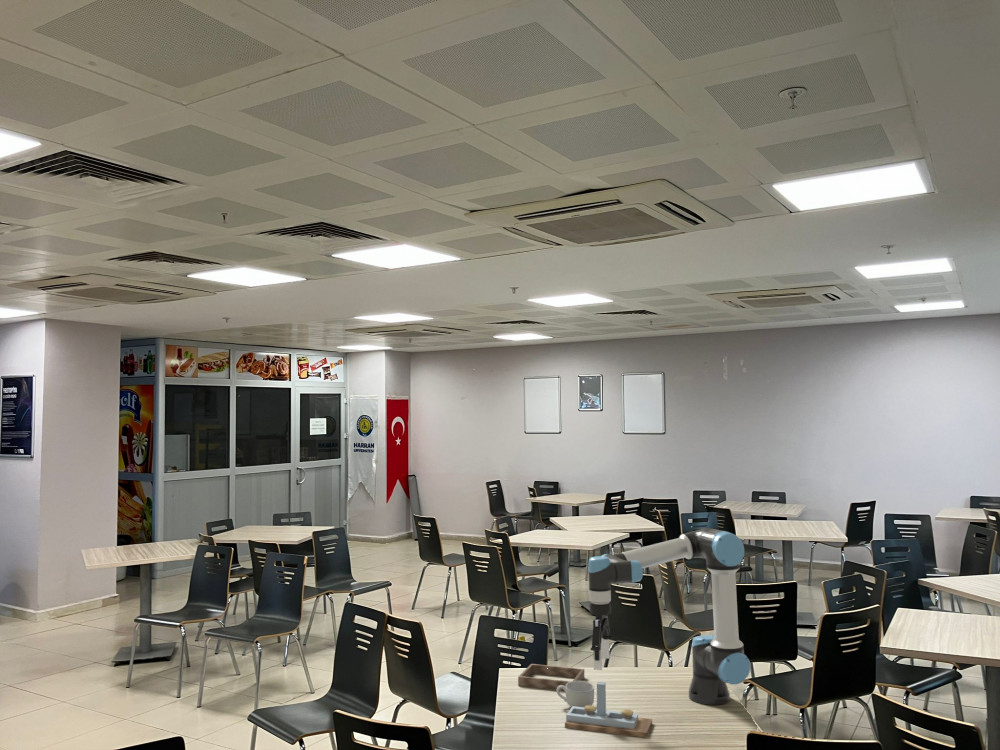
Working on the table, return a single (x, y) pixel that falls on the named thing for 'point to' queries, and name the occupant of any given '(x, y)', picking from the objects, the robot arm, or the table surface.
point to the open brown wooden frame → (529, 681)
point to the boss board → (639, 730)
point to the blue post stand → (601, 713)
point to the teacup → (578, 693)
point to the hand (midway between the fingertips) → (601, 663)
